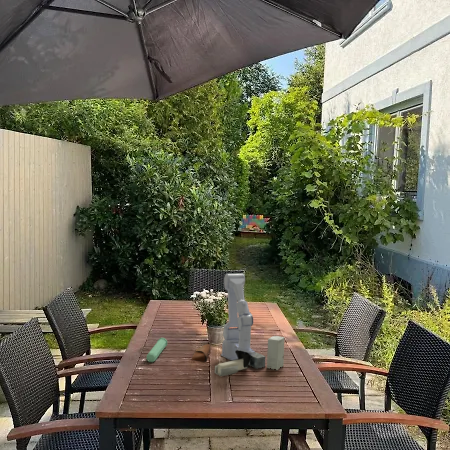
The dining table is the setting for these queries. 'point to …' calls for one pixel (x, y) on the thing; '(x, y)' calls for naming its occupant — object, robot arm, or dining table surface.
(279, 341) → the skincare box
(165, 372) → the dining table surface
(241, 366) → the inner rod
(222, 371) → the sleeve
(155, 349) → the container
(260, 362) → the socket
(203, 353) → the sunglasses case
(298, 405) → the dining table surface
